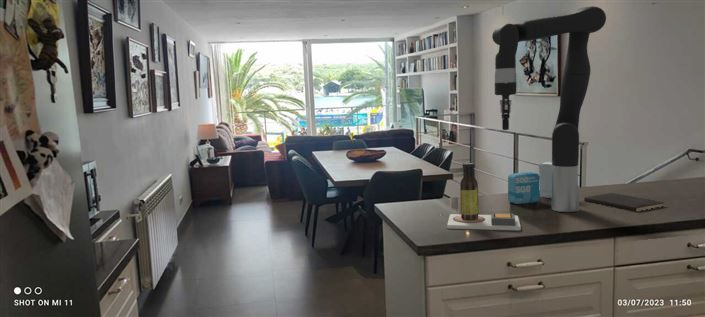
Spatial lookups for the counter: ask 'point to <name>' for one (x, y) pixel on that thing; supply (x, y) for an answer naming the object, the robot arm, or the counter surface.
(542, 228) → the counter surface
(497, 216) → the button
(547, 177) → the skincare box
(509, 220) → the white control panel
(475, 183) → the sauce bottle
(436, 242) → the counter surface
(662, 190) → the counter surface
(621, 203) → the hardcover book
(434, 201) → the counter surface
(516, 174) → the data package
